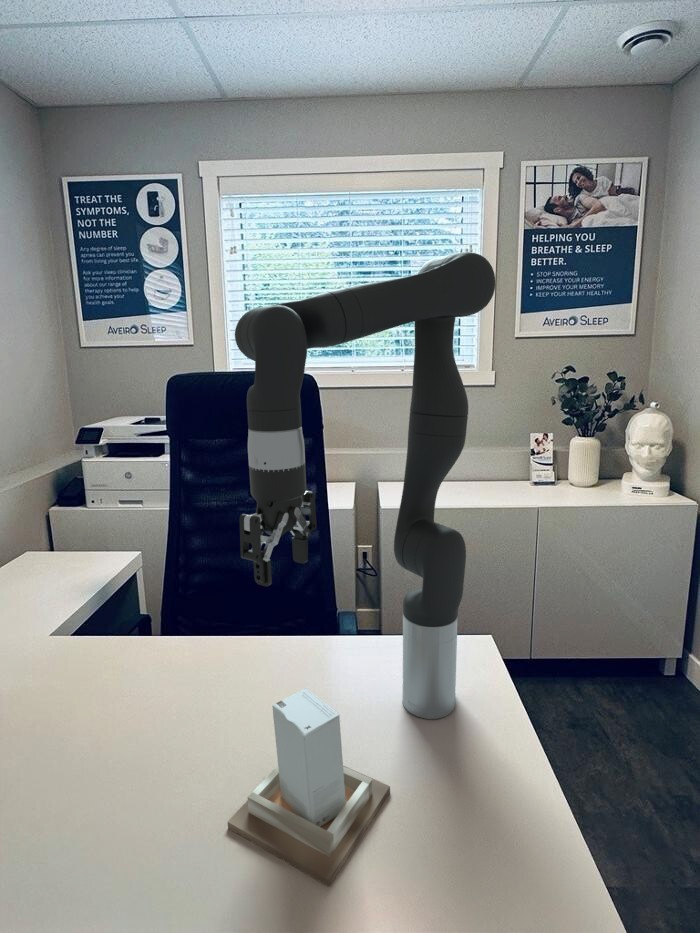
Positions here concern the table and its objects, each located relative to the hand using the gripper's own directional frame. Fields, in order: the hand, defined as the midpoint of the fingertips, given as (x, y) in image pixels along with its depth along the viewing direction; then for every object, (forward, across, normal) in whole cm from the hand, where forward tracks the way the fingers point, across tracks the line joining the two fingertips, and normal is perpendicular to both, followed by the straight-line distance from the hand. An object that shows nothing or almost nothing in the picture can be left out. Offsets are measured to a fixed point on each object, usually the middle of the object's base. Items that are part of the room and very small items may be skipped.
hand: (283, 572), depth 77 cm
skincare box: (+30, -6, -8) cm, 32 cm away
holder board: (+31, -6, -8) cm, 33 cm away
